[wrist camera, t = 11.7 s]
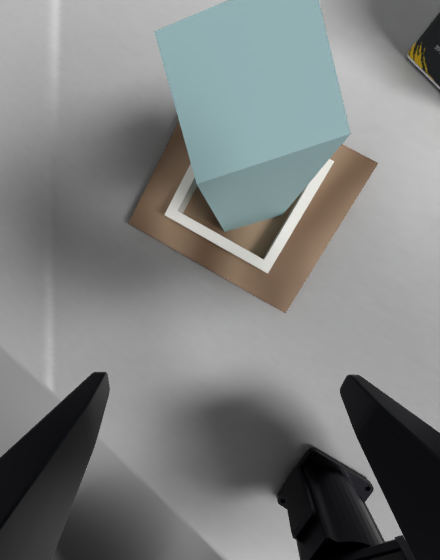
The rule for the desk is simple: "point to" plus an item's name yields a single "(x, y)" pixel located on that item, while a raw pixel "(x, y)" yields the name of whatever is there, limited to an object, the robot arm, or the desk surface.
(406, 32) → the desk surface
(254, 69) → the pale blue tall block
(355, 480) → the robot arm
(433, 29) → the medicine bottle
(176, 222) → the wooden tray with frame
